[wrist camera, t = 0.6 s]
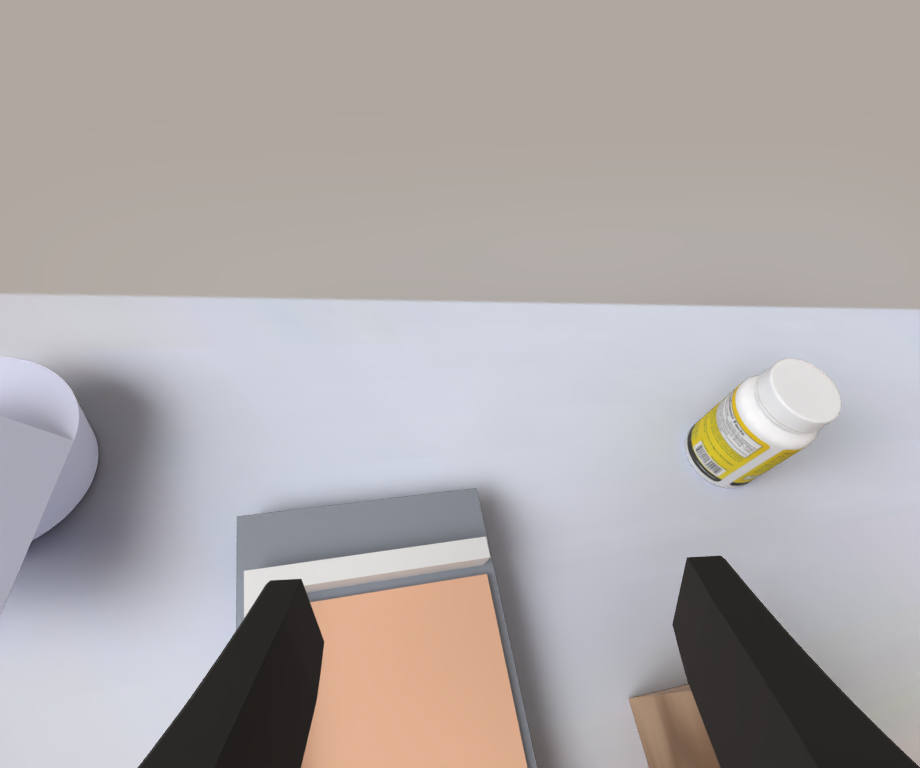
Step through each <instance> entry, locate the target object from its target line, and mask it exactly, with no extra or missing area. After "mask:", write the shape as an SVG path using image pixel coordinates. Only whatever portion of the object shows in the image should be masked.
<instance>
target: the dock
mask: <svg viewBox="0 0 920 768" xmlns="http://www.w3.org/2000/svg"><path fill="white" fill-rule="evenodd" d="M288 579H302V582H303V585H304V587H305V590H306V593H307V596H308V598H309V601H310V604H311V606H312V609H313V612H314V615H315V617H316V620H317V623H318V626H319V628H320V631H321V634H322V637H323V639H324V649H323V657H322V666H321V674H320V681H319V689H318V696H317V701H316V706H315V710H314V715H313V719H312V723H311V727H310V732H309V736H308V740H307V744H306V749H305V753H304V757H303V761H302V765H301V768H537V765H536V761H535V756H534V751H533V747H532V742H531V738H530V733H529V728H528V724H527V719H526V714H525V710H524V705H523V701H522V696H521V691H520V687H519V682H518V677H517V673H516V668H515V663H514V659H513V654H512V650H511V645H510V640H509V636H508V631H507V626H506V622H505V617H504V612H503V608H502V603H501V599H500V594H499V589H498V585H497V580H496V575H495V571H494V566H493V561H492V557H491V552H490V548H489V543H488V538H487V534H486V529H485V524H484V520H483V515H482V510H481V506H480V501H479V497H478V492H477V488H473V489H465V490H456V491H448V492H439V493H431V494H423V495H414V496H406V497H397V498H389V499H380V500H372V501H363V502H355V503H346V504H338V505H330V506H321V507H313V508H304V509H296V510H287V511H279V512H270V513H262V514H254V515H245V516H237V585H236V630H237V629H238V627H239V626H240V624H241V623H242V621H243V619H244V618H245V616H246V615H247V613H248V612H249V610H250V609H251V607H252V605H253V604H254V602H255V601H256V599H257V598H258V596H259V594H260V593H261V591H262V590H263V588H264V586H265V585H266V584H267V583H268V582H269V581H270V580H288Z"/></svg>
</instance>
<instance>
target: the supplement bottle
mask: <svg viewBox="0 0 920 768" xmlns="http://www.w3.org/2000/svg"><path fill="white" fill-rule="evenodd" d="M840 410H841V398H840V395H839V392H838V390H837V388H836V386H835V385H834V383H833V382H832V381H831V379H830V378H829V377H828V376H827V375H826V374H825V373H824V372H823V371H821V370H820V369H818V368H817V367H815V366H814V365H812V364H810V363H808V362H805V361H802V360H799V359H784V360H781V361H779V362H777V363H776V364H774V365H773V366H772V367H770V368H769V369H768V370H766V371H764V372H763V373H762V374H761V375H757V376H754V377H751V378H749V379H747V380H745V381H744V382H743V383H741V384H740V385H739V386H738V387H737V388H736V389H734V390H733V391H732V392H731V393H730V394H729V395H728V396H727V397H725V398H724V399H723V400H722V401H721V402H720V403H719V404H717V405H716V406H715V407H714V408H713V409H712V410H711V411H709V412H708V413H707V414H706V415H705V416H704V417H703V418H701V419H700V420H699V421H698V422H697V423H696V424H695V425H694V426H693V427H692V428H691V429H690V430H689V431H688V433H687V436H686V439H685V449H686V454H687V457H688V459H689V462H690V463H691V465H692V467H693V468H694V469H695V470H696V472H697V473H698V474H699V475H700V476H701V477H703V478H704V479H705V480H707V481H708V482H710V483H712V484H714V485H717V486H720V487H725V488H737V487H741V486H743V485H745V484H747V483H749V482H750V481H752V480H753V479H755V478H757V477H758V476H760V475H761V474H763V473H765V472H766V471H768V470H769V469H771V468H773V467H774V466H776V465H777V464H779V463H781V462H782V461H784V460H786V459H787V458H789V457H790V456H792V455H794V454H795V453H797V452H798V451H800V450H802V449H803V448H805V447H806V446H808V445H809V444H810V443H811V442H812V441H813V440H814V439H815V437H816V435H817V433H818V430H819V429H821V428H822V427H824V426H825V425H827V424H828V423H830V422H831V421H833V420H834V419H835V418H836V417H837V416H838V415H839V413H840Z"/></svg>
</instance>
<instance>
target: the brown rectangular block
mask: <svg viewBox="0 0 920 768" xmlns="http://www.w3.org/2000/svg"><path fill="white" fill-rule="evenodd" d="M629 702H630V705H631V708H632V712H633V715H634V718H635V722H636V725H637V729H638V732H639V735H640V739H641V742H642V745H643V749H644V752H645V755H646V759H647V762H648V765H649V768H721V767H720V765H719V762H718V760H717V757H716V754H715V752H714V749H713V747H712V744H711V742H710V739H709V736H708V734H707V731H706V729H705V726H704V723H703V721H702V718H701V715H700V713H699V710H698V707H697V705H696V702H695V700H694V697H693V694H692V692H691V689H690V686H689V684H687V685H683V686H679V687H675V688H671V689H666V690H662V691H658V692H654V693H649V694H645V695H641V696H637V697H633V698H629Z"/></svg>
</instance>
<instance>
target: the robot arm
mask: <svg viewBox="0 0 920 768" xmlns="http://www.w3.org/2000/svg"><path fill="white" fill-rule="evenodd" d="M673 628H674V632H675V636H676V640H677V643H678V647H679V651H680V655H681V659H682V662H683V666H684V670H685V673H686V677H687V680H688V683H689V686H690V689H691V692H692V694H693V697H694V700H695V702H696V705H697V707H698V710H699V713H700V715H701V718H702V721H703V723H704V726H705V729H706V731H707V734H708V736H709V739H710V742H711V744H712V747H713V749H714V752H715V754H716V757H717V760H718V762H719V765H720V767H721V768H920V767H919V766H918V765H917V764H916V763H915V762H914V761H913V760H911V759H910V758H909V757H908V756H907V755H906V754H905V753H904V752H903V751H902V750H901V749H900V748H899V747H898V746H897V745H896V744H895V743H894V742H893V741H892V740H891V739H889V738H888V737H887V736H886V735H885V734H884V733H883V732H882V731H881V730H880V729H879V728H878V727H877V726H876V725H875V724H874V723H873V722H872V721H871V720H870V719H869V718H868V717H867V716H866V715H865V714H864V713H863V712H862V711H861V710H860V709H859V708H858V707H857V706H856V705H855V704H854V703H853V702H852V701H851V700H850V699H849V698H848V697H847V696H846V695H845V694H844V693H843V692H842V690H841V689H840V688H839V687H838V686H837V685H836V684H835V683H834V682H833V681H832V680H831V679H830V678H829V677H828V676H827V675H826V674H825V673H824V671H823V670H822V669H821V668H820V667H819V666H818V665H817V664H816V663H815V662H814V661H813V660H812V659H811V657H810V656H809V655H808V654H807V653H806V652H805V651H804V650H803V649H802V648H801V647H800V646H799V645H798V643H797V642H796V641H795V640H794V639H793V638H792V637H791V636H790V635H789V633H788V632H787V631H786V630H785V629H784V628H783V627H782V626H781V624H780V623H779V622H778V621H777V620H776V619H775V618H774V616H773V615H772V614H771V613H770V612H769V611H768V610H767V608H766V607H765V606H764V605H763V604H762V603H761V601H760V600H759V599H758V598H757V597H756V596H755V594H754V593H753V592H752V591H751V590H750V588H749V587H748V586H747V585H746V584H745V583H744V581H743V580H742V579H741V578H740V577H739V575H738V574H737V573H736V572H735V571H734V569H733V568H732V567H731V566H730V565H729V563H728V562H727V561H726V560H725V559H724V558H723V557H722V556H707V557H689V558H687V560H686V565H685V569H684V574H683V579H682V583H681V588H680V592H679V597H678V602H677V606H676V611H675V615H674V620H673ZM323 649H324V639H323V637H322V634H321V631H320V628H319V626H318V623H317V620H316V617H315V615H314V612H313V609H312V606H311V604H310V601H309V598H308V596H307V593H306V590H305V587H304V585H303V582H302V579H288V580H270V581H269V582H268V583H267V584H266V585H265V586H264V588H263V590H262V591H261V593H260V594H259V596H258V598H257V599H256V601H255V602H254V604H253V605H252V607H251V609H250V610H249V612H248V613H247V615H246V616H245V618H244V619H243V621H242V623H241V624H240V626H239V627H238V629H237V630H236V632H235V633H234V635H233V636H232V638H231V639H230V641H229V642H228V644H227V645H226V647H225V648H224V650H223V651H222V653H221V654H220V656H219V657H218V659H217V660H216V662H215V663H214V665H213V666H212V667H211V669H210V670H209V672H208V673H207V675H206V676H205V678H204V679H203V680H202V682H201V683H200V685H199V686H198V688H197V689H196V690H195V692H194V693H193V695H192V696H191V698H190V699H189V700H188V702H187V703H186V705H185V706H184V707H183V709H182V710H181V711H180V713H179V714H178V715H177V717H176V718H175V719H174V721H173V722H172V723H171V725H170V726H169V727H168V729H167V730H166V731H165V733H164V734H163V735H162V737H161V738H160V739H159V741H158V742H157V743H156V745H155V746H154V747H153V749H152V750H151V751H150V753H149V754H148V755H147V757H146V758H145V759H144V760H143V762H142V763H141V764H140V765H139V767H138V768H301V765H302V761H303V757H304V753H305V749H306V744H307V740H308V736H309V732H310V727H311V723H312V719H313V715H314V710H315V706H316V701H317V696H318V689H319V681H320V674H321V666H322V657H323Z"/></svg>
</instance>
